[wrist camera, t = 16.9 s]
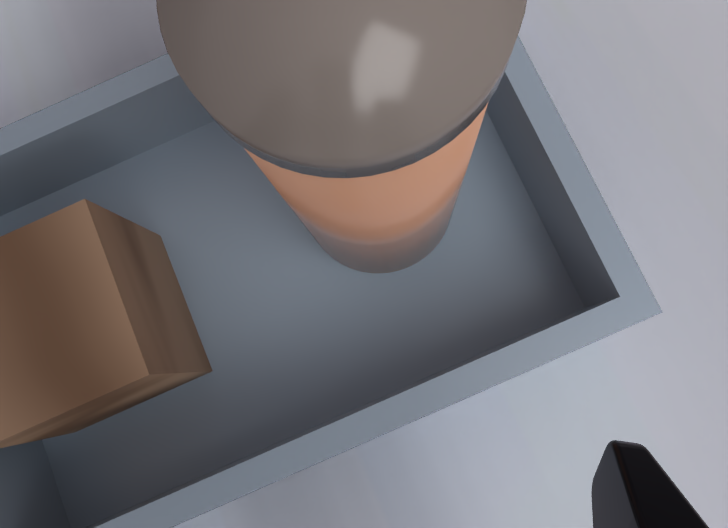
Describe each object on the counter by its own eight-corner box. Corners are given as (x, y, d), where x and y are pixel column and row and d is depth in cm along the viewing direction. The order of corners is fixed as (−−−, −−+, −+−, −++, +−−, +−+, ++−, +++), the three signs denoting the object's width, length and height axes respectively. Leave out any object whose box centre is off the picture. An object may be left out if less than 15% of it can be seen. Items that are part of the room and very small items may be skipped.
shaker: (380, 308, 21) (341, 236, 8) (270, 202, 21) (82, -11, 9) (489, 196, 21) (609, -38, 8) (376, 95, 22) (336, -253, 9)
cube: (74, 432, 21) (-31, 454, 16) (28, 294, 22) (-87, 275, 17) (212, 371, 21) (149, 374, 16) (160, 235, 22) (84, 198, 17)
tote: (67, 561, 21) (-17, 609, 17) (-42, 221, 23) (-140, 191, 19) (613, 321, 20) (662, 312, 16) (451, 0, 23) (458, -78, 19)
